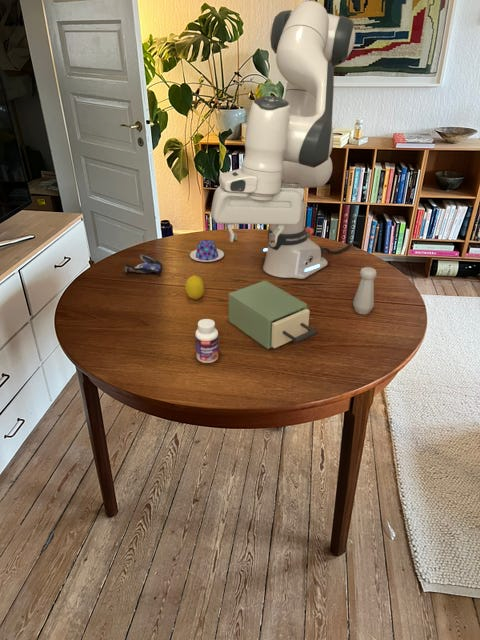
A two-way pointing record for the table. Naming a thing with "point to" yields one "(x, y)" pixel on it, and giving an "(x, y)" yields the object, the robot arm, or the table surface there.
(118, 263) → the table surface
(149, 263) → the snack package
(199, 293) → the lemon
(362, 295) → the salt shaker
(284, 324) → the drawer
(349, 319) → the table surface
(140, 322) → the table surface
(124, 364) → the table surface
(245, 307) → the cabinet
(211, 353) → the pill bottle
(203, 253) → the pudding
